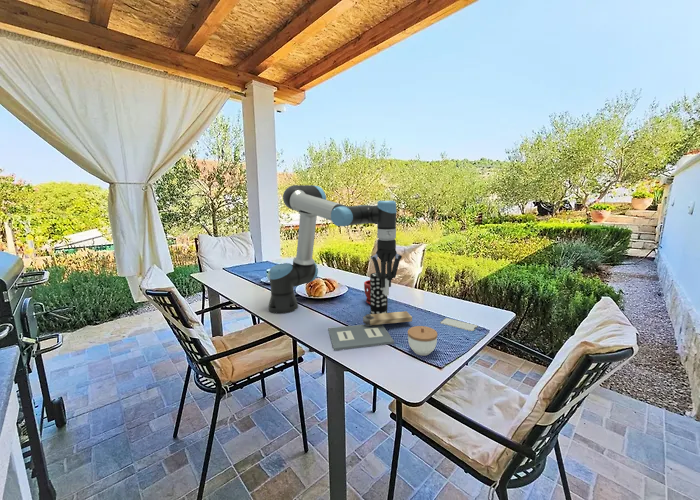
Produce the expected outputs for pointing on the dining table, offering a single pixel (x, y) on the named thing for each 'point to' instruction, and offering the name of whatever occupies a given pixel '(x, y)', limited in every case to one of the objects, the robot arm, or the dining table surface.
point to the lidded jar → (422, 339)
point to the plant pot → (367, 293)
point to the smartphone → (459, 324)
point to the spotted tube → (377, 295)
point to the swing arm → (387, 318)
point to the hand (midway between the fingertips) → (386, 294)
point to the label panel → (359, 336)
